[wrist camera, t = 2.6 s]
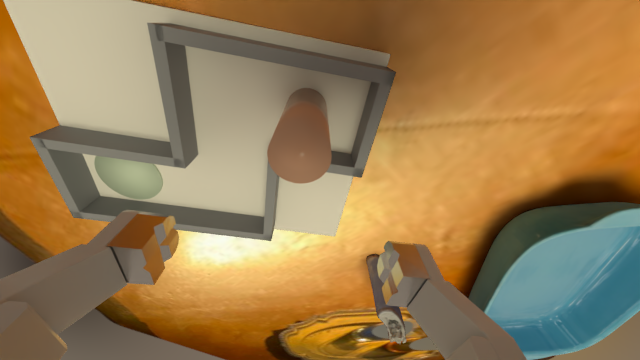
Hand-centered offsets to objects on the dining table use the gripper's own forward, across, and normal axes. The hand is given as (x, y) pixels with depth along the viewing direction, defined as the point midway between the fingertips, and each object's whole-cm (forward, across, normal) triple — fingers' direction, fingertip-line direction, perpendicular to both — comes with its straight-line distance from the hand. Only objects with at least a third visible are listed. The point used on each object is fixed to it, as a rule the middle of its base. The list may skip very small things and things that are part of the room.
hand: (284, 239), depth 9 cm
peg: (+17, 0, 0) cm, 17 cm away
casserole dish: (+18, -41, +20) cm, 49 cm away
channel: (+18, +9, +5) cm, 21 cm away
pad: (+17, +19, +11) cm, 27 cm away
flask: (+18, -16, +25) cm, 35 cm away
